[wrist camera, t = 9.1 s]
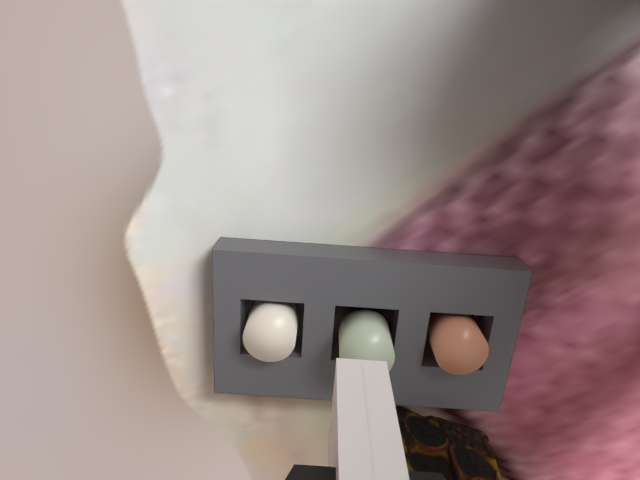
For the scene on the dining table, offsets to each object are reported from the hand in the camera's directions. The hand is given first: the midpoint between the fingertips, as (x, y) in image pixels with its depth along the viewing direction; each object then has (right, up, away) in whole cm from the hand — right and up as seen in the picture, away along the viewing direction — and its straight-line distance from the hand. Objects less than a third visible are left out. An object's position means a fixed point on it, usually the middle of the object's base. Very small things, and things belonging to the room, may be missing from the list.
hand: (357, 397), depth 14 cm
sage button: (+3, -3, +27) cm, 27 cm away
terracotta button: (+11, -3, +28) cm, 31 cm away
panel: (+3, -2, +29) cm, 29 cm away
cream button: (-5, -2, +28) cm, 29 cm away
